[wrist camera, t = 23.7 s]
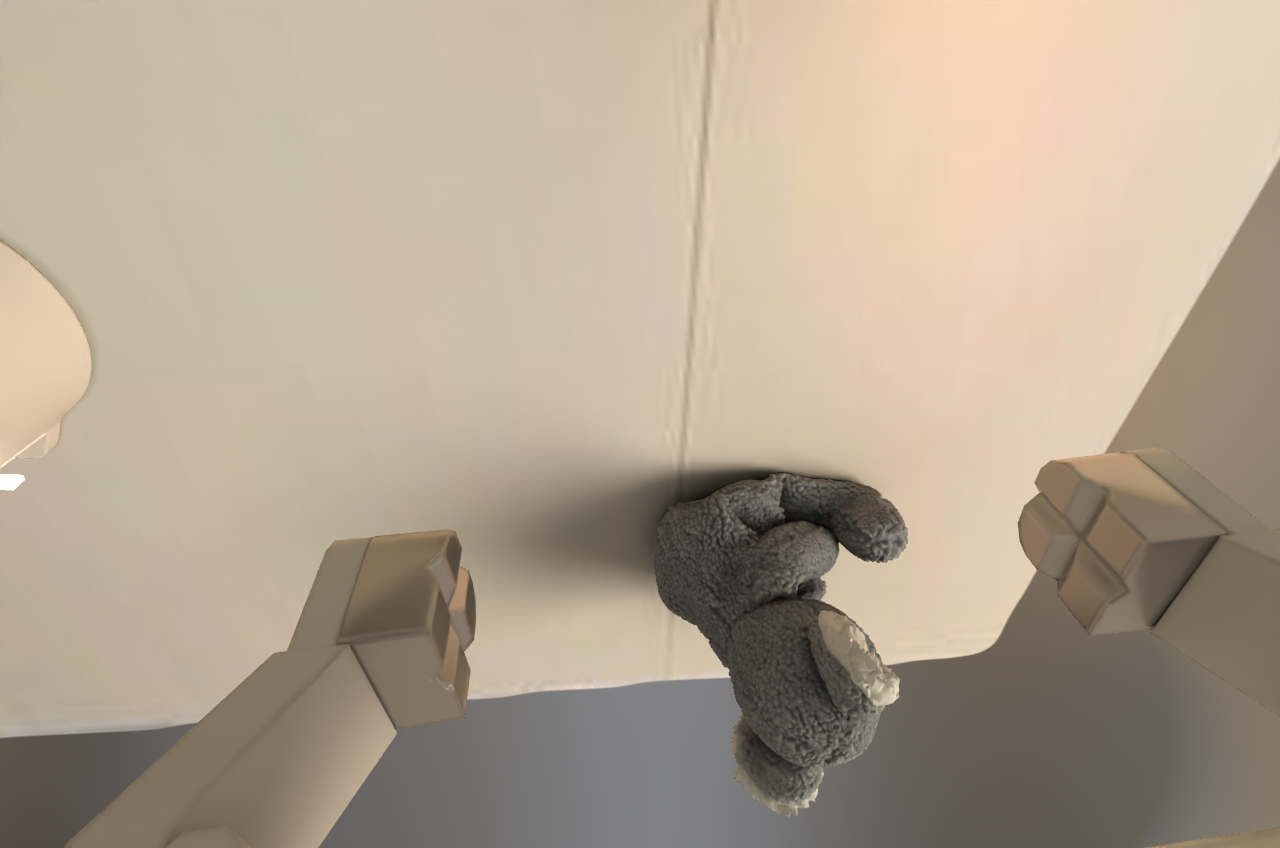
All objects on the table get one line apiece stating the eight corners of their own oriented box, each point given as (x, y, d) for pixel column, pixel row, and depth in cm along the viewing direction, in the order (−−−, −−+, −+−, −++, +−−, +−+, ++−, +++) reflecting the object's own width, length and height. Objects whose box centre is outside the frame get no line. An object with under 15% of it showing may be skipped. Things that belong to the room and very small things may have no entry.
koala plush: (793, 613, 60) (875, 846, 44) (615, 582, 54) (634, 832, 39) (898, 480, 50) (1048, 713, 35) (695, 428, 45) (763, 673, 30)
